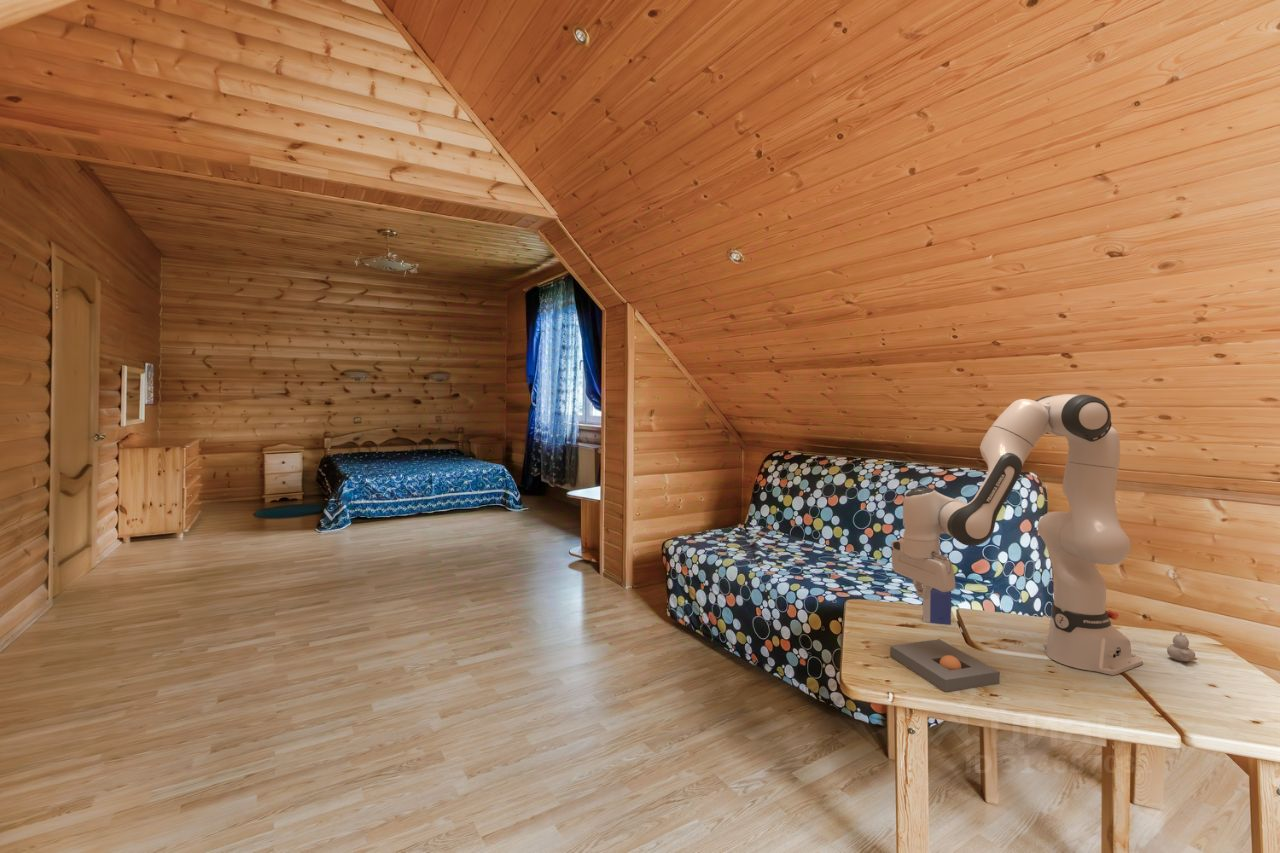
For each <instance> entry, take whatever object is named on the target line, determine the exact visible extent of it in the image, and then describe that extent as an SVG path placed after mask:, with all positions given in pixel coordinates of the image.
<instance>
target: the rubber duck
mask: <svg viewBox="0 0 1280 853" xmlns="http://www.w3.org/2000/svg"><path fill="white" fill-rule="evenodd" d="M1189 646H1190V641H1189V639H1188V637H1187V635H1185V634H1184V635H1183V633H1182V631H1181V630H1179V634H1178V633H1177V634H1175V636H1173V638H1172V644H1170V645H1169V646H1168V647H1167V648H1166V652H1167V655H1168V656H1169V657H1170V658H1172V659H1173V660H1175V661H1178V662H1184V663H1185V662H1190V661H1194V660H1195V658H1196V653H1195V651H1194V650H1192V649H1191V648H1190V647H1189Z"/></svg>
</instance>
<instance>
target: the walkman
mask: <svg viewBox="0 0 1280 853" xmlns="http://www.w3.org/2000/svg"><path fill="white" fill-rule="evenodd" d="M923 589H924V587H923ZM922 621H923V623H929V624H939V625H949V626H950V625H952V623H951V622H952V591H949V592H942V591H939V590H937V589H935V588H932V589H931V591H930V593H929V599H926V600H925V599H922Z"/></svg>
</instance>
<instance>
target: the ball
mask: <svg viewBox="0 0 1280 853" xmlns="http://www.w3.org/2000/svg"><path fill="white" fill-rule="evenodd" d="M939 664H940V665H942V666H943V667H945V668H947V669H948V670H956V669H962V667H961V663H960V662H959V660H958V659H957V658H955V657H954V656H950V655H947V656H944V657H942V658H941V660H940V662H939Z"/></svg>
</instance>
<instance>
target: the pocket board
mask: <svg viewBox="0 0 1280 853" xmlns="http://www.w3.org/2000/svg"><path fill="white" fill-rule="evenodd" d="M889 649H890V650H889V651H890V654H889V657H890V658H892V659H894V660H895V661H896V662H898V663H900V664H901V665H903V666H904V667H906V668H907V669H908V670H910V671H912V672H913V673H915V674H916V675H918V676H919V677H921V678H922V679H924V680H926V681H927V682H929V683H931V684H932V685H934V686H935V687H937V688H938V689H940V690H941V691H943V693H944V692H945V693H949V692H954V691H959V690H967V689H973V688H978V687H985V686H991V685H998V684H1000V681H1001V680H1000V677H1001V674H1000V671H999V670H998V669H995V668H994V667H992V666H991V665H989V664H986V663H985V662H983V661H981V660H978V659H977V658H976V657H974V656H971V655H970V654H968V653H966V652H964V651H962V650H960V649H959V648H957V647H955V646H953V645H952V644H949V643H947V642H945V641H944V640H942V639H940V638H938V639H931V640H924V641H915V642H907V643H902V644H901V643H900V644H895V645H894V644H893V645H890V648H889ZM947 655H950V656H954V657H955V658H957V659H958V660H959V662H960V663H961V667H962V669H956V670H948V669H947V668H945V667H943V666H942V665H940V664H939V662H940V660H941V658H942V657H944V656H947Z"/></svg>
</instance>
